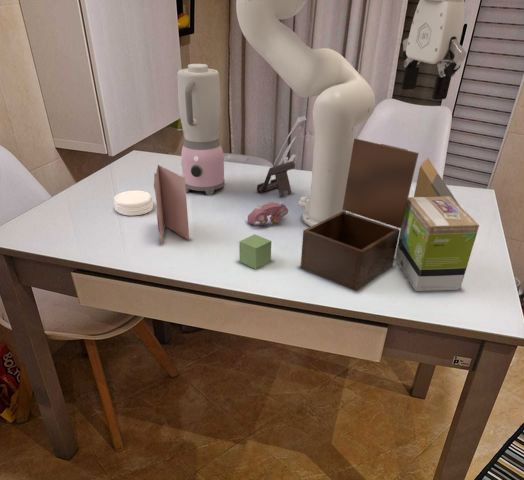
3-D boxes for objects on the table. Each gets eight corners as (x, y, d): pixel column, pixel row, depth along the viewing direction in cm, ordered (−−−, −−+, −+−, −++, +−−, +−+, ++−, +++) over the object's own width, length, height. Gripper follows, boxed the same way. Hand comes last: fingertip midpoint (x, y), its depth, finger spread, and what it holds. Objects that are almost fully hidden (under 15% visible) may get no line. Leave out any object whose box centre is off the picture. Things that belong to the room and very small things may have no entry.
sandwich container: (469, 236, 124) (486, 175, 115) (407, 224, 129) (419, 165, 120) (473, 223, 130) (490, 165, 121) (414, 213, 135) (426, 156, 126)
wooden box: (356, 291, 102) (362, 252, 96) (300, 267, 109) (303, 230, 104) (392, 266, 110) (400, 229, 105) (338, 246, 118) (342, 211, 113)
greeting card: (161, 225, 126) (154, 164, 117) (190, 224, 127) (186, 164, 117) (157, 244, 117) (149, 181, 108) (189, 244, 118) (184, 180, 108)
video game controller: (251, 233, 127) (257, 214, 121) (244, 219, 128) (250, 200, 122) (285, 226, 130) (292, 207, 124) (278, 213, 132) (285, 194, 126)
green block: (239, 261, 111) (239, 241, 108) (254, 254, 114) (254, 234, 111) (255, 269, 108) (256, 248, 105) (270, 261, 111) (271, 240, 108)
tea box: (392, 258, 113) (405, 195, 104) (435, 257, 114) (451, 194, 105) (414, 292, 102) (430, 224, 93) (461, 291, 102) (482, 223, 93)
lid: (417, 153, 96) (428, 150, 99) (354, 138, 104) (366, 136, 107) (399, 228, 105) (410, 223, 108) (342, 209, 112) (354, 205, 115)
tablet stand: (277, 185, 151) (278, 156, 146) (296, 191, 147) (298, 162, 142) (256, 192, 146) (257, 163, 141) (276, 199, 142) (277, 169, 136)
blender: (191, 179, 154) (183, 60, 134) (229, 182, 152) (227, 63, 132) (173, 196, 142) (161, 69, 122) (214, 201, 140) (209, 72, 120)
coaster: (108, 212, 132) (105, 199, 130) (129, 200, 139) (127, 187, 137) (140, 218, 129) (138, 205, 127) (160, 205, 136) (159, 193, 134)
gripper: (399, -13, 96) (383, 86, 106) (462, -7, 84) (436, 104, 94) (430, -12, 98) (411, 84, 109) (495, -6, 86) (466, 102, 97)
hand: (423, 93), depth 102 cm, fingers open, 9 cm apart
